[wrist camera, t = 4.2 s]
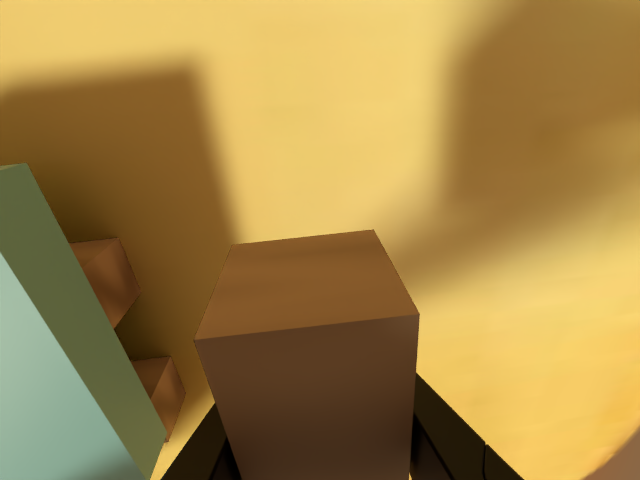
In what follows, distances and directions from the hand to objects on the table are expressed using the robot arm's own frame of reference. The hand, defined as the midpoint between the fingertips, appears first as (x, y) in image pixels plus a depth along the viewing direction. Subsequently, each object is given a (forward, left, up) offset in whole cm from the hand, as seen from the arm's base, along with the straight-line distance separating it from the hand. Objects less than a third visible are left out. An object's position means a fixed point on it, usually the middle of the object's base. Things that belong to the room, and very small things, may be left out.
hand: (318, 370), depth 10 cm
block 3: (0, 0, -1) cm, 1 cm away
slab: (-3, +15, -7) cm, 17 cm away
